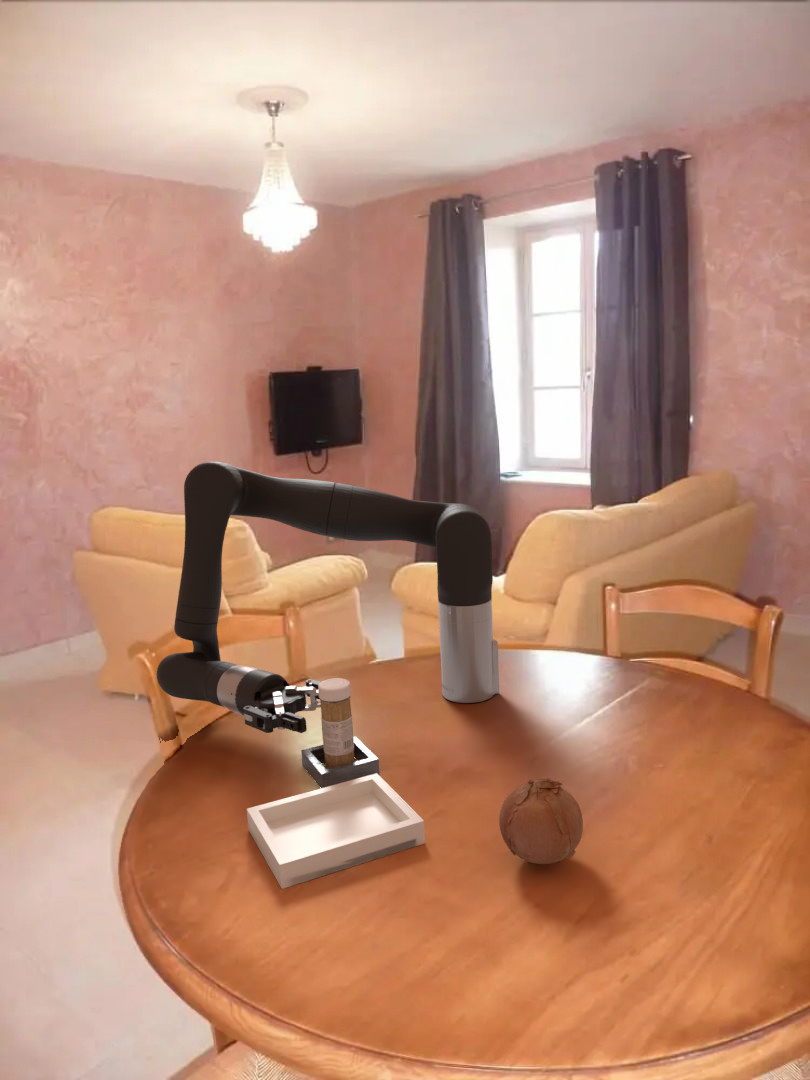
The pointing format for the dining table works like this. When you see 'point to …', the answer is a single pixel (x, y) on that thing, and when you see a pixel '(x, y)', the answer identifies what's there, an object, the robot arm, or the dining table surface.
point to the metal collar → (341, 773)
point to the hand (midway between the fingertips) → (326, 715)
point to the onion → (541, 822)
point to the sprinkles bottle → (336, 722)
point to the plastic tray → (333, 829)
